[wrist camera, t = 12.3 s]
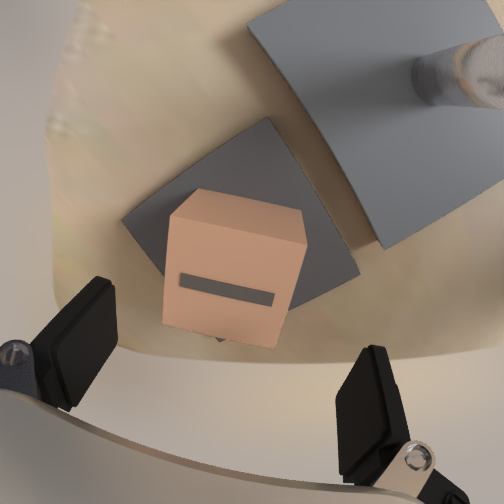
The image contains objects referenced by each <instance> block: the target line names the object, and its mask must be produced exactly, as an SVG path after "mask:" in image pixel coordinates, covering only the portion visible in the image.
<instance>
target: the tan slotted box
mask: <svg viewBox="0 0 504 504" xmlns="http://www.w3.org/2000/svg"><path fill="white" fill-rule="evenodd" d="M307 246H308V245H307V239H306V233H305V228H304V222H303V217H302V212H301V210H298V209H293V208H289V207H285V206H280V205H276V204H271V203H267V202H262V201H258V200H253V199H248V198H244V197H239V196H234V195H229V194H224V193H219V192H214V191H209V190H204V189H199V188H198V189H197V190H196V191H195V192H194V193H193V194H192V195H191V196H190V197H189V198H188V199H187V200H186V201H185V202H184V203H182V204H181V205H180V206H179V207H178V208H177V209H176V210H175V211H174V212H173V213H172V214H171V215H170V222H169V232H168V243H167V254H166V267H165V281H164V297H163V316H162V324H165V325H169V326H172V327H176V328H180V329H184V330H188V331H192V332H196V333H200V334H204V335H209V336H213V337H217V338H222V339H226V340H231V341H235V342H240V343H245V344H249V345H254V346H259V347H264V348H270V349H275V348H276V345H277V342H278V339H279V336H280V333H281V330H282V327H283V324H284V320H285V317H286V314H287V311H288V308H289V305H290V302H291V299H292V295H293V292H294V289H295V286H296V282H297V279H298V276H299V273H300V269H301V266H302V263H303V259H304V256H305V253H306V249H307Z"/></svg>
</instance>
